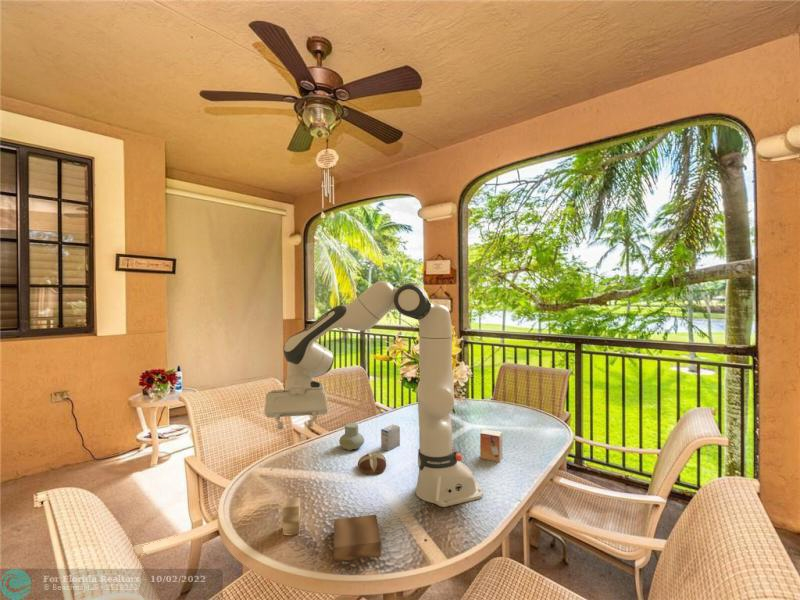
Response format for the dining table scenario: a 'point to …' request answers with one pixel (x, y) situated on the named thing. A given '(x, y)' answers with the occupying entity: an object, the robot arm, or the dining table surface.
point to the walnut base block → (356, 538)
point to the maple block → (291, 516)
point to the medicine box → (390, 437)
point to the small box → (491, 445)
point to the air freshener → (351, 437)
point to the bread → (372, 463)
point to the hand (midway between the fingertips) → (295, 427)
